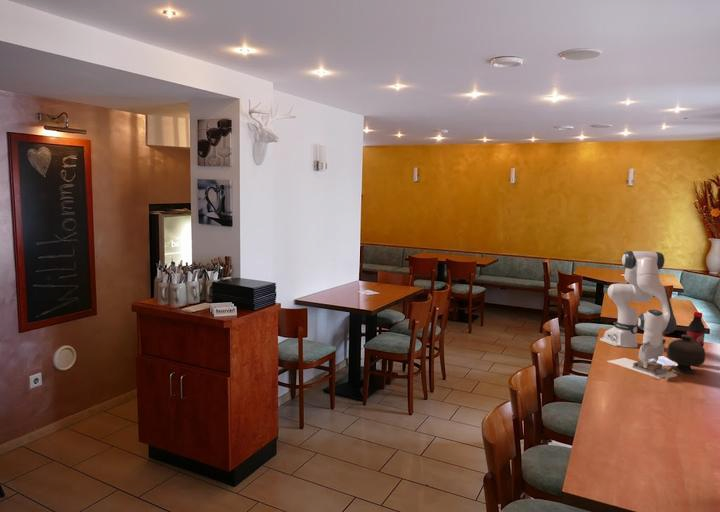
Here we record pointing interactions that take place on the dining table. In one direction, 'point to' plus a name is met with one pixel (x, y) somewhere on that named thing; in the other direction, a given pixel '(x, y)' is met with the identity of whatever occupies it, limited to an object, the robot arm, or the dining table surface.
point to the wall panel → (634, 366)
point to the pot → (685, 354)
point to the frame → (650, 366)
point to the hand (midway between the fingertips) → (649, 366)
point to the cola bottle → (697, 329)
